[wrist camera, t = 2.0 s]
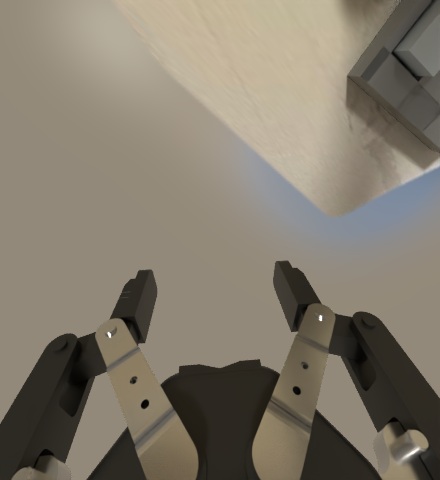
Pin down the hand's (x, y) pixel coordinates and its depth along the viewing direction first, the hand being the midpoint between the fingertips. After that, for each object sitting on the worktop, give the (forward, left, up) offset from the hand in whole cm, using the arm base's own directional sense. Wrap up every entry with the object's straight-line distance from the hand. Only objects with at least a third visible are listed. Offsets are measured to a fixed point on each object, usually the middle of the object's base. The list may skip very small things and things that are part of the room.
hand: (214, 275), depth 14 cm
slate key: (-22, +14, -21) cm, 34 cm away
